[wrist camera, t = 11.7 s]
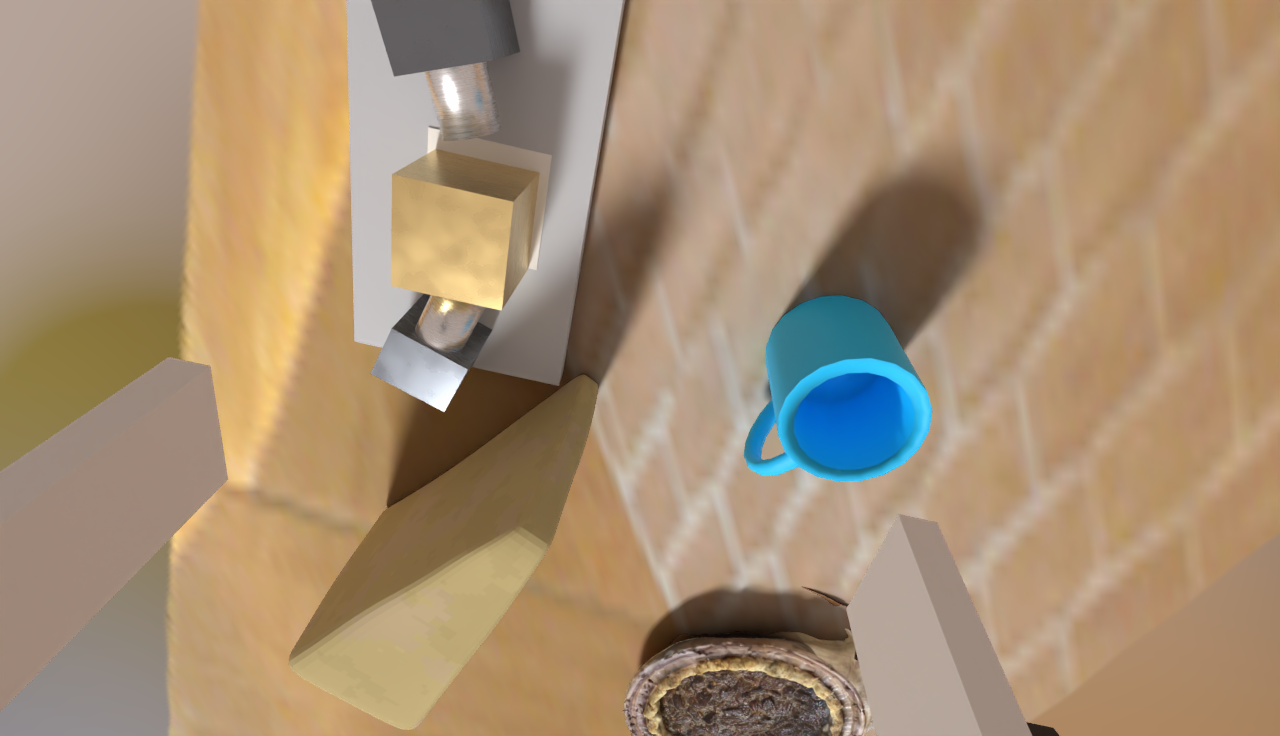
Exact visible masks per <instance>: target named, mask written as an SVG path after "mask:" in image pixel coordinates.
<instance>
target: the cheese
mask: <svg viewBox="0 0 1280 736" xmlns="http://www.w3.org/2000/svg"><path fill="white" fill-rule="evenodd" d="M597 394H598V385H597V383H596V382H594V381H593V380H592V379H590V378H589V377H588V376H586V375H579V376H577V377H576V378H574V379H573V380H571V381H570V382H568V383H567V384H565V385H564V386H563V387H561V388H560V389H559V390H557V391H556V392H555V393H553V394H552V395H551V396H549V397H548V398H547V399H545V400H544V401H543V402H541V403H540V404H539V405H537V406H536V407H534V408H533V409H532V410H530V411H529V412H528V413H526V414H525V415H524V416H522V417H521V418H520V419H518V420H517V421H516V422H514V423H513V424H512V425H510V426H509V427H508V428H506V429H505V430H504V431H502V432H501V433H500V434H498V435H497V436H496V437H494V438H493V439H492V440H490V441H489V442H488V443H486V444H485V445H484V446H482V447H481V448H479V449H478V450H477V451H475V452H474V453H473V454H471V455H470V456H468V457H467V458H466V459H464V460H463V461H461V462H460V463H459V464H457V465H456V466H454V467H453V468H451V469H450V470H448V471H447V472H445V473H444V474H442V475H441V476H439V477H438V478H436V479H435V480H433V481H432V482H430V483H429V484H427V485H425V486H424V487H422V488H421V489H419V490H417V491H416V492H414V493H412V494H411V495H409V496H407V497H406V498H404V499H402V500H401V501H399V502H397V503H396V504H394V505H392V506H391V507H389V508H387V509H386V510H385V511H384V512H383V513H382V514H381V515H380V517H379V518H378V520H377V521H376V523H375V524H374V526H373V527H372V528H371V530H370V531H369V533H368V534H367V535H366V537H365V538H364V540H363V541H362V542H361V544H360V545H359V547H358V548H357V549H356V551H355V552H354V554H353V555H352V556H351V558H350V559H349V561H348V562H347V564H346V565H345V567H344V568H343V569H342V571H341V572H340V574H339V575H338V577H337V578H336V580H335V582H334V583H333V585H332V586H331V588H330V589H329V591H328V592H327V594H326V596H325V597H324V599H323V600H322V602H321V604H320V605H319V607H318V609H317V610H316V612H315V614H314V615H313V617H312V619H311V620H310V622H309V624H308V625H307V627H306V628H305V630H304V632H303V633H302V635H301V637H300V638H299V640H298V642H297V643H296V645H295V647H294V648H293V650H292V652H291V654H290V657H289V665H290V667H291V669H292V670H293V671H294V672H295V673H296V674H297V675H299V676H300V677H302V678H303V679H305V680H306V681H308V682H310V683H311V684H313V685H315V686H317V687H319V688H321V689H323V690H324V691H326V692H328V693H330V694H332V695H334V696H336V697H338V698H340V699H341V700H343V701H345V702H347V703H349V704H351V705H353V706H355V707H357V708H358V709H360V710H362V711H364V712H366V713H368V714H370V715H372V716H374V717H376V718H378V719H379V720H381V721H383V722H386V723H388V724H390V725H392V726H395V727H397V728H400V729H405V730H410V729H414V728H416V727H417V726H418V725H419V724H420V723H421V722H422V721H423V720H424V718H425V717H426V716H427V714H428V713H429V712H430V710H431V709H432V708H433V706H434V705H435V704H436V702H437V701H438V700H439V698H440V697H441V696H442V694H443V693H444V692H445V690H446V689H447V688H448V686H449V685H450V684H451V682H452V681H453V680H454V679H455V677H456V676H457V675H458V673H459V672H460V671H461V670H462V668H463V667H464V666H465V664H466V663H467V662H468V661H469V659H470V658H471V657H472V656H473V654H474V653H475V652H476V651H477V649H478V648H479V647H480V646H481V644H482V643H483V642H484V641H485V639H486V638H487V637H488V636H489V634H490V633H491V632H492V630H493V629H494V628H495V626H496V625H497V624H498V622H499V621H500V620H501V618H502V617H503V616H504V614H505V613H506V611H507V610H508V609H509V607H510V606H511V604H512V603H513V601H514V600H515V598H516V597H517V595H518V594H519V592H520V591H521V589H522V588H523V586H524V585H525V584H526V582H527V581H528V579H529V578H530V576H531V575H532V573H533V572H534V571H535V569H536V568H537V566H538V565H539V563H540V562H541V560H542V559H543V557H544V556H545V554H546V553H547V551H548V549H549V547H550V545H551V543H552V540H553V538H554V535H555V532H556V529H557V526H558V523H559V520H560V517H561V514H562V511H563V508H564V505H565V502H566V499H567V496H568V493H569V490H570V487H571V484H572V481H573V478H574V476H575V473H576V470H577V467H578V465H579V462H580V459H581V456H582V453H583V450H584V447H585V444H586V441H587V438H588V434H589V430H590V426H591V422H592V418H593V414H594V409H595V404H596V399H597Z"/></svg>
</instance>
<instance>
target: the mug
mask: <svg viewBox="0 0 1280 736" xmlns="http://www.w3.org/2000/svg"><path fill="white" fill-rule="evenodd" d="M766 367H767V372H768V378H769V384H770V390H771V395H772V399H771V401H770V402H769V403H768V404H767V406H766V407H765V408H764V409H763V411H762V412H761V413H760V415H759V416H758V418H757V419H756V421H755V423H754V424H753V426H752V428H751V430H750V432H749V435H748V437H747V440H746V443H745V450H744V457H745V460H746V462H747V465H748V467H749V468H750V469H751V470H752V471H754V472H756V473H758V474H760V475H763V476H770V475H780V474H782V473H784V472H787V471H789V470H791V469H794V468H796V467H800V468H802V469H804V470H806V471H807V472H809V473H811V474H813V475H815V476H817V477H821V478H825V479H830V480H834V481H862V480H866V479H870V478H873V477H877V476H881V475H884V474H886V473H888V472H890V471H891V470H893V469H895V468H897V467H899V466H901V465H902V464H904V463H905V462H906V461H907V460H908V459H909V458H910V457H911V456H912V455H913V454H914V453H915V452H916V451H917V450H918V449H919V448H920V447H921V445H922V443H923V441H924V439H925V438H926V436H927V434H928V432H929V430H930V423H931V416H932V408H931V404H930V401H929V397H928V393H927V391H926V389H925V387H924V385H923V384H922V382H921V380H920V378H919V377H918V375H917V373H916V371H915V370H914V368H913V366H912V364H911V362H910V361H909V359H908V357H907V355H906V354H905V352H904V350H903V348H902V347H901V345H900V343H899V341H898V340H897V338H896V336H895V334H894V333H893V331H892V329H891V327H890V326H889V324H888V323H887V321H886V320H885V319H884V317H883V316H882V315H881V314H880V312H879V311H878V310H877V309H875V308H874V307H872V306H870V305H869V304H867V303H866V302H864V301H862V300H859V299H855V298H851V297H847V296H843V295H839V296H822V297H818V298H815V299H812V300H809V301H806V302H804V303H801V304H799V305H798V306H796V307H795V308H794V309H792V310H791V311H789V312H788V313H786V314H785V315H784V316H783V317H782V318H781V320H780V321H779V322H778V323H777V325H776V326H775V327H774V329H773V330H772V332H771V335H770V337H769V340H768V343H767V346H766ZM775 422H776V424H777V430H778V436H779V438H780V440H781V443H782V445H783V448H784V450H785V452H784V453H783V454H781V455H779V456H776V457H774V458H772V459H767V460H762V458H761V453H762V447H763V444H764V442H765V439H766V437H767V435H768V433H769V432H770V430H771V428H772V427H773V425H774V424H775Z"/></svg>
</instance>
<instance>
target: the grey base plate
mask: <svg viewBox="0 0 1280 736" xmlns="http://www.w3.org/2000/svg"><path fill="white" fill-rule="evenodd" d="M509 1H510V6H511V11H512V15H513V20H514V25H515V29H516V34H517V39H518V43H519V48H520V52H519V53H516V54H512V55H509V56H506V57H503V58H500V59H496V60H493V61H488V62H487V67H488V71H489V75H490V79H491V83H492V88H493V92H494V96H495V100H496V104H497V109H498V113H499V117H500V121H501V125H502V130H501V131H499V132H496V133H493V134H490V135H486V136H482V137H477V138H472V139H467V140H460V141H443V138H442V135H441V131H440V127H439V124H438V120H437V117H436V113H435V110H434V106H433V103H432V99H431V96H430V92H429V89H428V85H427V81H426V78H425V74H424V72H420V73H414V74H407V75H401V76H395V77H394V75H393V72H392V68H391V65H390V62H389V58H388V55H387V52H386V49H385V45H384V42H383V39H382V35H381V32H380V29H379V26H378V22H377V19H376V16H375V12H374V9H373V6H372V2H371V0H347V39H348V82H349V125H350V168H351V210H352V253H353V296H354V339H355V342H359V343H364V344H368V345H373V346H377V347H382V348H383V346H384V344H385V342H386V339H387V337H388V335H389V333H390V331H391V329H392V327H393V326H394V325H395V324H396V323H397V322H398V321H399V320H400V319H401V318H402V317H403V316H404V315H405V313H406V312H407V311H408V310H409V309H410V308H411V307H412V306H413V305H414V304H415V303H416V302H417V301H418V299H419V298H420V297H421V296H422V295H423V294H424V293H420V292H415V291H411V290H406V289H402V288H397V287H393V286H391V221H392V174H393V173H395V172H397V171H398V170H400V169H402V168H404V167H405V166H407V165H409V164H410V163H412V162H414V161H416V160H417V159H419V158H421V157H423V156H424V155H426V154H428V153H429V152H431V151H433V150H435V149H438V150H443V151H447V152H451V153H456V154H460V155H465V156H469V157H473V158H478V159H482V160H486V161H491V162H495V163H500V164H504V165H508V166H513V167H517V168H521V169H526V170H530V171H535V172H539V173H540V176H539V184H538V192H537V200H536V208H535V216H534V224H533V232H532V240H531V248H530V256H529V264H528V270H527V272H526V273H525V275H524V276H523V278H522V280H521V281H520V283H519V284H518V286H517V287H516V289H515V291H514V292H513V294H512V295H511V297H510V298H509V300H508V302H507V303H506V305H505V306H504V308H503V310H502V311H501V310H497V309H492V308H488V307H485V309H484V311H483V313H482V315H481V316H480V318H479V320H478V322H479V323H481V324H483V325H485V326H487V327H488V328H490V329H492V332H491V334H490V336H489V338H488V339H487V341H486V343H485V345H484V346H483V348H482V350H481V352H480V354H479V355H478V357H477V359H476V361H475V362H474V364H473V366H472V367H474V368H478V369H483V370H488V371H492V372H497V373H501V374H506V375H511V376H515V377H520V378H524V379H529V380H534V381H538V382H543V383H547V384H552V385H557V386H559V384H560V382H561V379H562V375H563V369H564V363H565V357H566V351H567V346H568V340H569V334H570V328H571V322H572V316H573V310H574V304H575V298H576V292H577V286H578V280H579V274H580V268H581V262H582V256H583V250H584V244H585V238H586V232H587V226H588V220H589V214H590V208H591V203H592V197H593V191H594V185H595V179H596V173H597V167H598V161H599V155H600V149H601V143H602V137H603V131H604V125H605V119H606V113H607V107H608V101H609V95H610V89H611V83H612V77H613V71H614V65H615V59H616V54H617V48H618V42H619V36H620V30H621V24H622V18H623V12H624V6H625V0H509Z"/></svg>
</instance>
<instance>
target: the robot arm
mask: <svg viewBox="0 0 1280 736" xmlns="http://www.w3.org/2000/svg"><path fill="white" fill-rule="evenodd" d="M227 480H228V476H227V470H226V464H225V457H224V451H223V444H222V438H221V431H220V425H219V419H218V412H217V406H216V399H215V393H214V386H213V380H212V374H211V367H210V366H208V365H203V364H199V363H194V362H189V361H185V360H180V359H175V358H170V357H168V358H167V359H165V360H164V361H162V362H161V363H159V364H158V365H156V366H155V367H153V368H152V369H151V370H149V371H148V372H146V373H145V374H143V375H142V376H140V377H139V378H137V379H136V380H134V381H133V382H131V383H130V384H129V385H127V386H125V387H124V388H123V389H121V390H120V391H118V392H117V393H115V394H114V395H112V396H111V397H109V398H108V399H107V400H105V401H103V402H102V403H101V404H99V405H98V406H96V407H95V408H93V409H92V410H90V411H89V412H87V413H86V414H84V415H83V416H82V417H80V418H78V419H77V420H75V421H74V422H72V423H71V424H70V425H68V426H67V427H65V428H64V429H62V430H61V431H59V432H58V433H56V434H55V435H53V436H52V437H51V438H49V439H47V440H46V441H44V442H43V443H42V444H40V445H39V446H37V447H36V448H34V449H33V450H31V451H30V452H28V453H27V454H25V455H24V456H22V457H21V458H19V459H18V460H17V461H15V462H14V463H12V464H11V465H9V466H8V467H6V468H5V469H3V470H2V471H0V712H1V710H3V709H4V708H5V707H6V706H7V704H8V703H9V702H10V701H11V700H12V699H13V698H14V697H15V696H16V695H17V694H18V693H19V692H20V691H21V690H22V689H23V688H24V687H25V686H26V685H27V684H28V683H29V682H30V681H31V680H32V679H33V678H34V677H35V676H36V675H37V674H38V673H39V672H40V671H41V670H42V669H43V668H44V667H45V666H46V665H47V664H48V663H49V662H50V660H51V659H53V658H54V656H55V655H56V654H57V653H58V652H59V651H60V650H61V649H62V648H63V647H64V646H65V645H66V644H67V643H68V642H69V641H70V640H71V639H72V638H73V637H74V636H75V635H76V634H77V633H78V632H79V631H80V630H81V629H82V628H83V627H84V626H85V625H86V624H87V623H88V622H89V621H90V620H91V619H92V617H94V616H95V614H97V613H98V611H100V609H101V608H102V607H103V606H104V605H105V604H106V603H107V602H108V601H109V600H110V599H111V598H112V597H113V596H114V595H115V594H116V593H117V592H118V591H119V590H120V589H121V588H122V587H123V586H124V585H125V584H126V583H127V582H128V581H129V580H130V579H131V578H132V577H133V576H134V575H135V574H136V573H137V572H138V571H139V570H140V569H141V568H142V567H143V565H144V564H146V562H147V561H148V560H149V559H150V558H151V557H152V556H153V555H154V554H155V553H156V552H157V551H158V550H159V549H160V548H161V547H162V546H163V545H164V544H165V543H166V542H167V541H168V540H169V539H170V538H171V537H172V536H173V535H174V534H175V533H176V532H177V531H178V530H179V529H180V528H181V527H182V526H183V525H184V524H185V523H186V522H187V521H188V520H189V519H190V518H191V517H192V515H193V514H194V513H195V512H196V511H197V510H198V509H199V508H200V507H201V506H202V505H203V504H204V503H205V502H206V501H207V500H208V499H209V498H210V497H211V496H212V495H213V494H214V493H215V492H216V491H217V490H218V489H219V488H220V487H221V486H222V485H223V484H224V483H225V482H226V481H227ZM846 610H847V615H848V619H849V623H850V627H851V632H852V636H853V640H854V644H855V649H856V653H857V657H858V661H859V666H860V670H861V674H862V678H863V683H864V687H865V691H866V695H867V700H868V704H869V708H870V713H871V717H872V721H873V725H874V730H875V734H876V736H1059V735H1058V733H1057V732H1056V731H1055V730H1054V728H1051V727H1046V726H1041V725H1037V724H1032V723H1027V722H1026V721H1025V718H1024V716H1023V714H1022V712H1021V709H1020V707H1019V705H1018V703H1017V700H1016V698H1015V696H1014V694H1013V691H1012V689H1011V687H1010V685H1009V683H1008V680H1007V678H1006V676H1005V674H1004V671H1003V669H1002V667H1001V665H1000V662H999V660H998V658H997V656H996V653H995V651H994V649H993V647H992V644H991V642H990V640H989V638H988V635H987V633H986V631H985V629H984V626H983V624H982V622H981V620H980V617H979V615H978V613H977V611H976V608H975V606H974V604H973V602H972V600H971V597H970V595H969V593H968V591H967V588H966V586H965V584H964V582H963V579H962V577H961V575H960V573H959V570H958V568H957V566H956V564H955V561H954V559H953V557H952V555H951V552H950V550H949V548H948V546H947V543H946V541H945V539H944V537H943V534H942V532H941V530H940V528H939V525H938V523H937V522H933V521H928V520H923V519H919V518H914V517H910V516H905V515H900V514H898V516H897V517H896V519H895V521H894V523H893V525H892V527H891V528H890V530H889V532H888V534H887V536H886V538H885V539H884V541H883V543H882V545H881V547H880V549H879V550H878V552H877V554H876V556H875V558H874V559H873V561H872V563H871V565H870V567H869V569H868V570H867V572H866V574H865V576H864V578H863V580H862V581H861V583H860V585H859V587H858V589H857V591H856V592H855V594H854V596H853V598H852V600H851V601H850V603H849V605H848V607H847V609H846Z"/></svg>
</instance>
